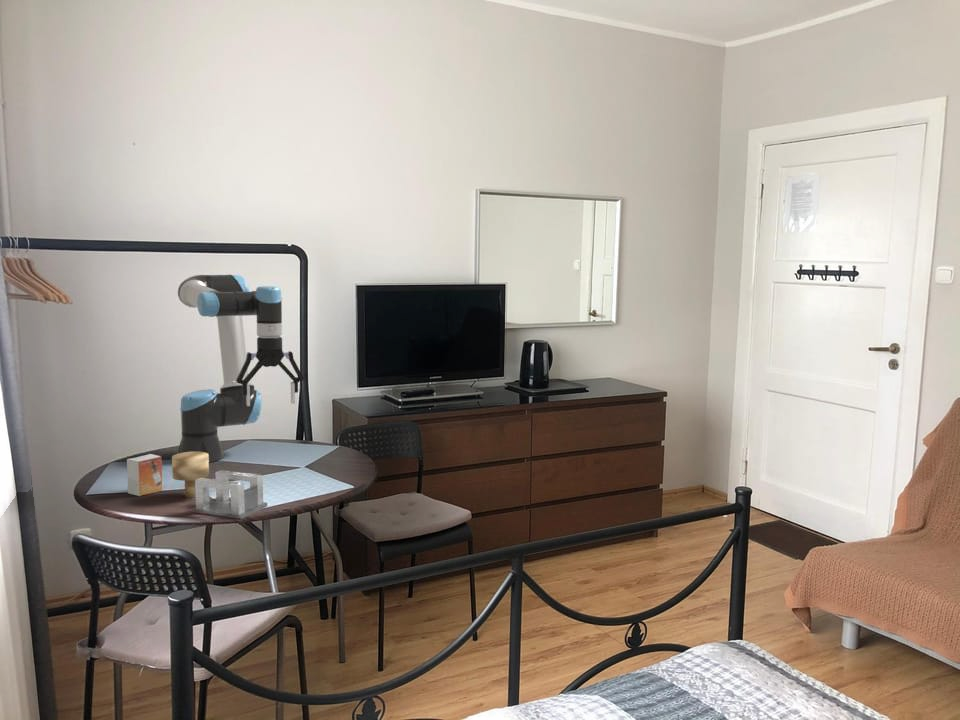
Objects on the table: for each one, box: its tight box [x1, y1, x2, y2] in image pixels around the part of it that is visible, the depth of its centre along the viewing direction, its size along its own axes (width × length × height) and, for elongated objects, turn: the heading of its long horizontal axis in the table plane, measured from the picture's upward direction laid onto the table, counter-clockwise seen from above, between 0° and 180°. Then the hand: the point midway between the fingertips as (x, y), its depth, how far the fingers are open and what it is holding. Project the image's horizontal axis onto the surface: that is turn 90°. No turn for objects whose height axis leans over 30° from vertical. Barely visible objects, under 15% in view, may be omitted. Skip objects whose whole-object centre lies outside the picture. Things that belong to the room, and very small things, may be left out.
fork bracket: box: [191, 469, 268, 520], centre depth 217 cm, size 16×12×9 cm
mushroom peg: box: [171, 452, 210, 499], centre depth 229 cm, size 10×10×12 cm
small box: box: [126, 453, 163, 497], centre depth 232 cm, size 8×6×10 cm
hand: (270, 404), depth 245 cm, fingers open, 13 cm apart
